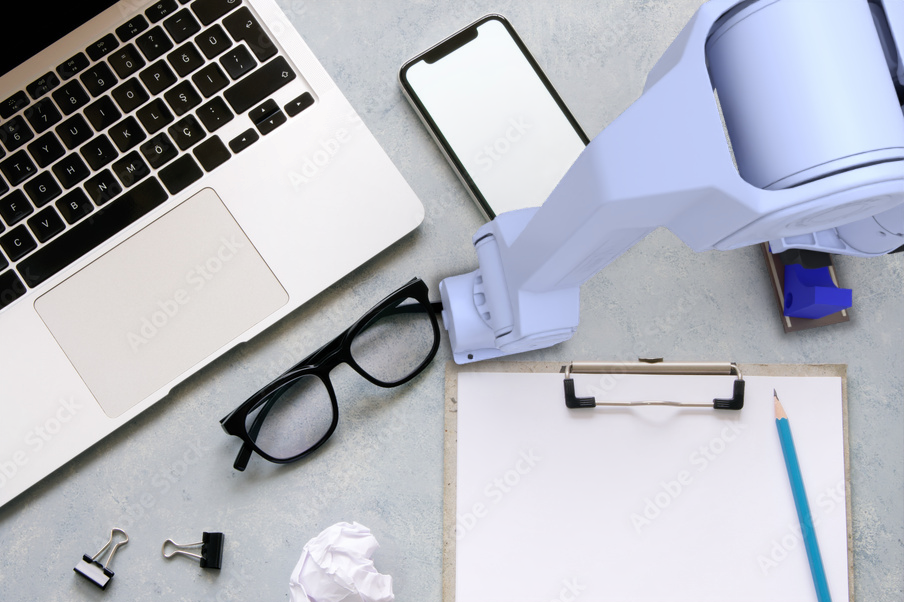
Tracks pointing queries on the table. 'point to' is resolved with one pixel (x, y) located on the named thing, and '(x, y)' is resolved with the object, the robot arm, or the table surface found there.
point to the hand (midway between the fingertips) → (809, 248)
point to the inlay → (778, 282)
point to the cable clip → (812, 293)
